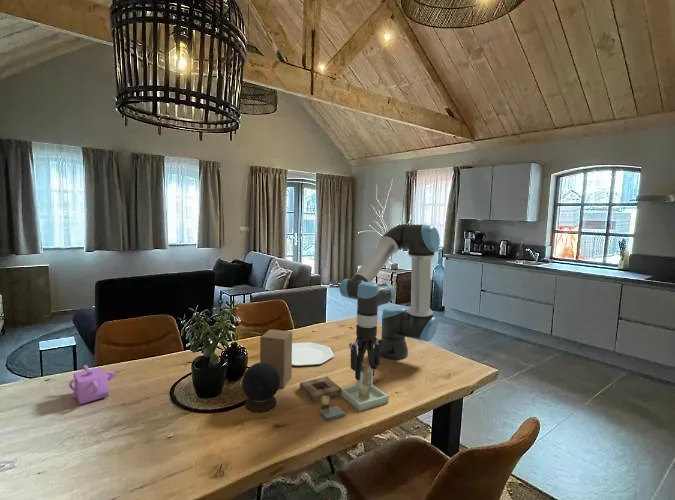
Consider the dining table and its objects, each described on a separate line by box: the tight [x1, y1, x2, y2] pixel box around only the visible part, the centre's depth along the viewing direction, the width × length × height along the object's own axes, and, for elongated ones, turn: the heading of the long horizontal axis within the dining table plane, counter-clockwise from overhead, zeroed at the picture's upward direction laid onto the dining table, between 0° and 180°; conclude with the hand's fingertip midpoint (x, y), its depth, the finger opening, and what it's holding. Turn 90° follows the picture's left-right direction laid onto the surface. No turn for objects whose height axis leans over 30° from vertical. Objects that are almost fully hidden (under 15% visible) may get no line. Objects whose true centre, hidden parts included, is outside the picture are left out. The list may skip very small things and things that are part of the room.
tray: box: [340, 384, 390, 412], centre depth 134 cm, size 13×13×2 cm
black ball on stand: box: [241, 362, 280, 414], centre depth 128 cm, size 13×13×15 cm
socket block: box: [299, 376, 342, 404], centre depth 139 cm, size 12×12×2 cm
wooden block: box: [259, 329, 293, 389], centre depth 145 cm, size 10×10×20 cm
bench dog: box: [320, 395, 331, 410], centre depth 127 cm, size 3×3×4 cm
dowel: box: [359, 363, 371, 400], centre depth 134 cm, size 4×4×12 cm
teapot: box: [68, 364, 115, 405], centre depth 131 cm, size 18×14×10 cm
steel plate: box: [319, 405, 346, 422], centre depth 123 cm, size 7×5×1 cm
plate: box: [292, 341, 335, 367], centre depth 174 cm, size 28×28×2 cm
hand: (364, 385), depth 134 cm, fingers closed on dowel, 4 cm apart
